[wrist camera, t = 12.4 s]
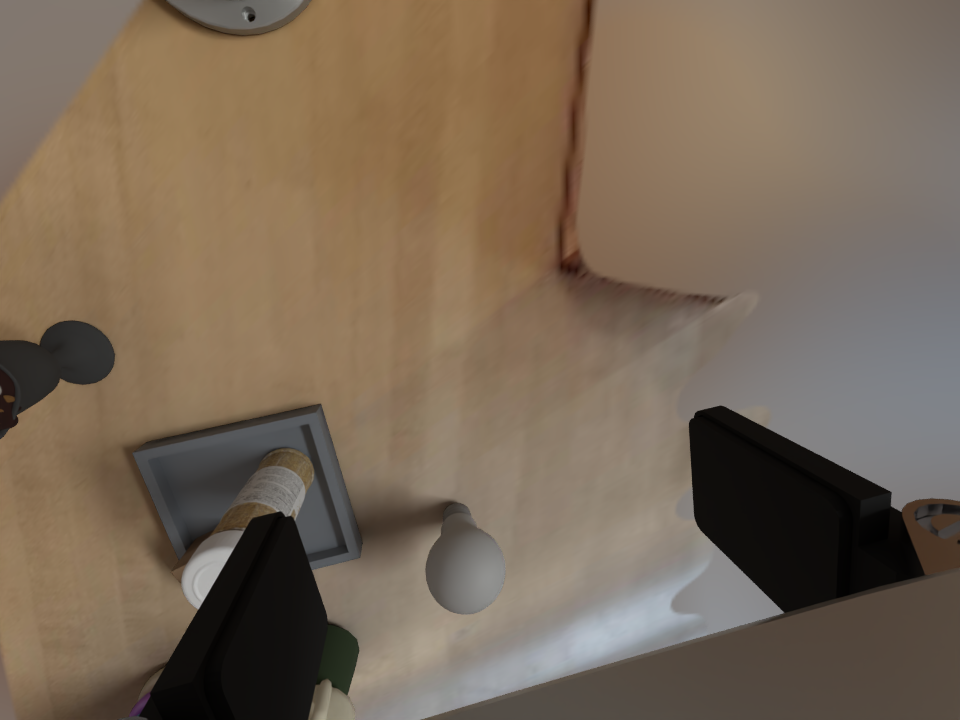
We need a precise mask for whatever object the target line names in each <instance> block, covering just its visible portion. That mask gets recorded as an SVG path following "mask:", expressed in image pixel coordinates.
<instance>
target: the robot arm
mask: <svg viewBox="0 0 960 720" xmlns="http://www.w3.org/2000/svg"><path fill="white" fill-rule="evenodd" d="M166 1H167V2H168V3H169V4H170V5H172V6H173V7H174V8H175V9H177V10H178V11H179V12H181V13H182V14H183V15H185V16H186V17H188V18H190V19H192V20H193V21H195V22H197V23H199V24H201V25H203V26H205V27H208V28H211V29H214V30H217V31H220V32H223V33H230V34H238V35H252V34H262V33H265V32H268V31H272V30H275V29H278V28H280V27H282V26H283V25H285V24H287V23H288V22H290V21H292V20H294V19H295V18H296V17H297V16H298V15H299V14H300V13H301V12H302V11H303V10H304V9H305V8H306V7H307V6H308V4H309V3H310V1H311V0H166ZM251 17H255V20H254V21H252V22H250V18H251ZM689 436H690V453H691V470H692V487H693V503H694V517H695V520H696V523H697V525H698V527H699V529H700V530H701V531H702V532H703V533H704V534H705V535H706V536H707V537H708V538H709V539H710V540H711V541H712V542H713V543H714V544H715V545H716V546H717V547H718V548H719V549H720V550H721V551H722V552H723V553H724V554H725V555H726V556H727V557H728V558H729V559H730V560H732V562H733V563H734V564H735V565H737V566H738V567H739V569H741V571H743V572H744V573H745V574H746V575H747V576H748V577H749V578H750V579H751V580H752V581H753V582H754V583H755V584H756V585H757V586H758V587H759V588H760V589H761V590H762V591H763V592H764V593H765V594H766V595H767V596H768V597H769V598H770V599H771V600H772V601H773V602H774V603H775V604H776V605H777V606H778V607H779V608H780V609H781V610H782V611H783V612H784V613H783V614H780V615H777V616H773V617H769V618H766V619H763V620H759V621H756V622H752V623H748V624H745V625H741V626H738V627H734V628H731V629H728V630H725V631H721V632H717V633H714V634H710V635H707V636H703V637H700V638H696V639H693V640H689V641H686V642H682V643H679V644H675V645H672V646H668V647H665V648H662V649H658V650H655V651H651V652H648V653H644V654H641V655H638V656H634V657H631V658H627V659H624V660H620V661H617V662H614V663H610V664H607V665H603V666H600V667H597V668H593V669H590V670H586V671H583V672H580V673H576V674H573V675H569V676H566V677H563V678H559V679H556V680H552V681H549V682H546V683H542V684H539V685H535V686H532V687H529V688H525V689H522V690H518V691H515V692H512V693H508V694H505V695H502V696H498V697H495V698H492V699H488V700H485V701H482V702H478V703H475V704H472V705H468V706H465V707H462V708H458V709H455V710H452V711H448V712H445V713H442V714H438V715H435V716H432V717H428V718H425V719H422V720H960V501H955V500H949V499H933V498H930V499H920V500H915V501H913V502H910V503H907V504H906V505H905V506H904V507H903V509H902V512H900V511H898V510H897V509H895V508H893V507H891V492H890V491H888V490H886V489H884V488H882V487H880V486H878V485H876V484H875V483H872V482H871V481H869V480H867V479H865V478H863V477H861V476H859V475H856V474H855V473H853V472H851V471H849V470H847V469H845V468H843V467H841V466H839V465H837V464H835V463H834V462H832V461H830V460H828V459H826V458H824V457H822V456H820V455H818V454H816V453H814V452H812V451H810V450H808V449H806V448H804V447H802V446H800V445H798V444H796V443H794V442H793V441H791V440H789V439H787V438H785V437H783V436H781V435H779V434H777V433H775V432H773V431H771V430H769V429H767V428H765V427H763V426H761V425H759V424H757V423H755V422H753V421H751V420H750V419H748V418H746V417H744V416H742V415H740V414H738V413H736V412H734V411H732V410H730V409H728V408H726V407H724V406H717V407H713V408H708V409H704V410H700V411H697V412H696V413H695V415H694V418H693V419H691V420H690V422H689ZM327 629H328V621H327V614H326V611H325V608H324V605H323V602H322V599H321V596H320V593H319V590H318V587H317V584H316V581H315V578H314V575H313V572H312V569H311V567H310V564H309V561H308V558H307V555H306V552H305V549H304V546H303V543H302V540H301V537H300V534H299V531H298V528H297V525H296V522H295V520H294V518H293V517H292V516H287V517H285V515H284V514H283V512H281V511H279V512H275V513H271V514H266V515H262V516H258V517H254V518H252V519H251V520H250V522H249V524H248V525H247V527H246V529H245V531H244V532H243V534H242V536H241V537H240V539H239V541H238V543H237V544H236V546H235V548H234V549H233V551H232V553H231V555H230V556H229V558H228V560H227V561H226V563H225V565H224V567H223V568H222V570H221V572H220V573H219V575H218V577H217V579H216V580H215V582H214V584H213V585H212V587H211V589H210V591H209V592H208V594H207V596H206V597H205V599H204V601H203V603H202V604H201V606H200V608H199V609H198V611H197V613H196V615H195V616H194V618H193V620H192V621H191V623H190V625H189V627H188V628H187V630H186V632H185V634H184V635H183V637H182V639H181V640H180V642H179V644H178V646H177V647H176V649H175V651H174V652H173V654H172V656H171V658H170V659H169V661H168V663H167V664H166V666H165V668H164V670H163V671H162V673H161V675H160V676H159V678H158V680H157V682H156V683H155V685H154V687H153V688H152V690H151V692H150V695H151V696H150V698H149V699H148V701H147V703H146V705H145V706H144V708H143V710H142V711H141V713H140V715H139V717H138V716H132V717H127V718H122V719H118V720H308V718H309V714H310V709H311V705H312V700H313V695H314V691H315V686H316V681H317V677H318V672H319V667H320V663H321V658H322V654H323V649H324V644H325V640H326V635H327Z"/></svg>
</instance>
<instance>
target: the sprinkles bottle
mask: <svg viewBox="0 0 960 720" xmlns="http://www.w3.org/2000/svg"><path fill="white" fill-rule="evenodd" d="M313 479H314V468H313V465H312V463H311V461H310V459H309V458H308V457H307V456H306V455H305V454H303V453H302V452H300V451H298V450H296V449H291V448H281V449H276V450H274V451H272V452H270V453H268V454H267V455H266V456H265V457H264V458H263V460H262V461H261V462H260V464H259V468H258V469H257V471H256V472H255V473H254V474H253V475H252V476H251V477H250V479H249V480H248V481H247V483H246V484H245V485H244V487H243V488H242V490H241V491H240V493H239V494H238V495H237V497H236V498H235V500H234V501H233V503H232V504H231V505H230V507H229V508H228V510H227V511H226V512H225V514H224V515H223V517H222V518H221V520H220V523H219V524H218V525H217V527H216V528H215V530H214V531H213V532H212V534H211V535H210V536H209V537H208V538H207V539H206V540H204V541H203V542H202V543H201V544H200V546H199V547H198V548H197V549H196V551H195V552H194V554H193V555H192V557H191V558H190V560H189V561H188V563H187V564H186V566H185V568H184V570H183V574H182V578H181V585H182V590H183V593H184V595H185V597H186V598H187V600H188V601H189V602H190V603H191V604H192V605H193V606H194V607H195V608H197V609H199V608H200V606H201V604H202V603H203V601H204V599H205V597H206V596H207V594H208V592H209V591H210V589H211V587H212V585H213V584H214V582H215V580H216V579H217V577H218V575H219V573H220V572H221V570H222V568H223V567H224V565H225V563H226V561H227V560H228V558H229V556H230V555H231V553H232V551H233V549H234V548H235V546H236V544H237V543H238V541H239V539H240V537H241V536H242V534H243V532H244V531H245V529H246V527H247V525H248V524H249V522H250V520H251V519H252V518H254V517H258V516H262V515H266V514H271V513H275V512H279V511H281V512H283V514H284V515H285V517H287V516H292V517H293V518H294V520H296V517H297V515H298V513H299V511H300V508H301V506H302V504H303V501H304V498H305V494H306V492H307V490H308V488H309V487H310V486H311V484H312V482H313Z"/></svg>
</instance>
